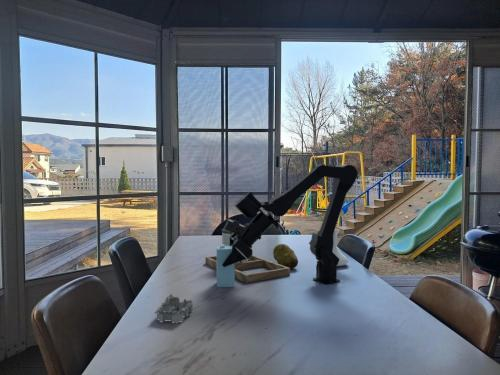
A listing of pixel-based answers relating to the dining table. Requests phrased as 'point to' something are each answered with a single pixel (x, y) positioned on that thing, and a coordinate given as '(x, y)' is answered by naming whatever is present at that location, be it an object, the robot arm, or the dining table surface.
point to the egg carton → (174, 309)
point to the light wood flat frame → (254, 263)
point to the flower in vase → (342, 258)
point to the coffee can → (226, 241)
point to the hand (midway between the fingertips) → (222, 262)
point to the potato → (285, 256)
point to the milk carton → (225, 268)
